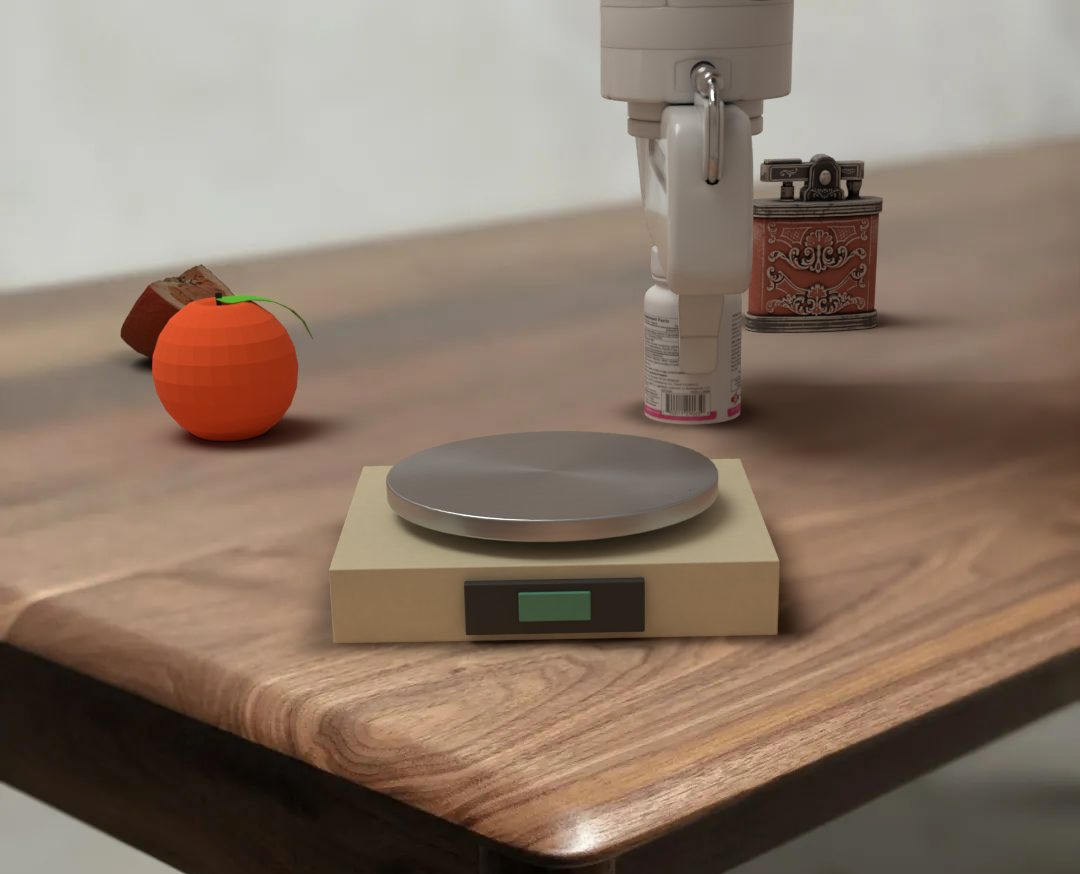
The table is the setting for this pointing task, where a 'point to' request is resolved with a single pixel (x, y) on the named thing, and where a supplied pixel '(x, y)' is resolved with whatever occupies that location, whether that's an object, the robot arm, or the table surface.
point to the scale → (554, 577)
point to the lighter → (814, 249)
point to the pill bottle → (664, 380)
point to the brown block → (167, 306)
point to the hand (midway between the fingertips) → (692, 357)
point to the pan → (552, 486)
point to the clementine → (225, 368)
